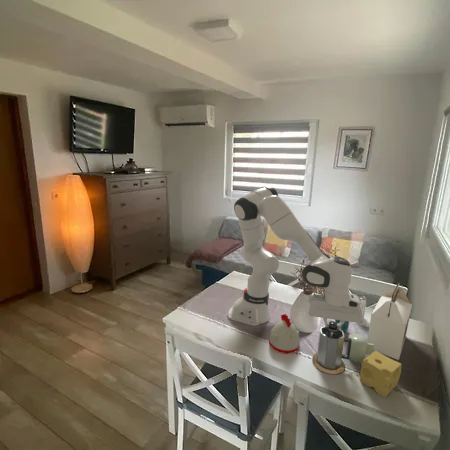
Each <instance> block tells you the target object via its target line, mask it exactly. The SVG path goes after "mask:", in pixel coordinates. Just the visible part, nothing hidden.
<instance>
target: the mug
mask: <svg viewBox="0 0 450 450" xmlns="http://www.w3.org/2000/svg"><path fill="white" fill-rule="evenodd" d="M348 338H351V340H352V343H351V350H350V357H349V360H351V361H353V362H356V363H362V362H363V360H364V359H365V358H366V356H367V355H368V356H369V355H371V354H372V353H373V352H374V350H373V347H374V345H373V344H371V343H368V340H367V339H368V337H366V336H365V335H364V334H361V333H356V332H352V333H349V335H348ZM347 346H348V344H347V345H346V347H347ZM346 353H347V351H346ZM346 353H345V354H346Z"/></svg>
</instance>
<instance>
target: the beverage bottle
mask: <svg viewBox="0 0 450 450" xmlns="http://www.w3.org/2000/svg"><path fill="white" fill-rule="evenodd" d="M334 322H336V323H340V320H334ZM349 326H350V322H348V321H345V322H344V324H343V325H342V326H341V329H340V330H342V331H343V332H345V331H348V330H349Z"/></svg>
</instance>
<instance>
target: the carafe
mask: <svg viewBox="0 0 450 450" xmlns="http://www.w3.org/2000/svg"><path fill="white" fill-rule="evenodd" d="M344 332H345V331H342V330H340V329H339V331H338V332H333V337H332V338H330V336H331V332H330V331H328V330H327V329H326V327H325V325H324V326H321V327H319V336H318V344H317V351H316V353H314V354H313V355H312V359H311V360H312V364H313V366H314V367H315V368H316V369H317V370H318V371H320V372H322V373H325V374H328V375H333V376H334V375H340V374H342V373H343V372H344V371H345V368H346V365H345V362H344V361H343V359H344V360H350V359H349V357H350V350H351V343H352V340H351V338H349V337H345V333H344ZM344 342H346V343H347V345H348V346H347V345H346V352H347V353H345V354H344V353H343V350H344V344H345V343H344Z"/></svg>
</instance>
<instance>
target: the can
mask: <svg viewBox="0 0 450 450" xmlns="http://www.w3.org/2000/svg"><path fill="white" fill-rule="evenodd" d="M356 295H357V296H358V297H359V299H360V303H361V305H360V307H361V310H362V321H363V320H364V318H365V314H366V307H367V298H366V297H365V296H364V295H361V294H356Z"/></svg>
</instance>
